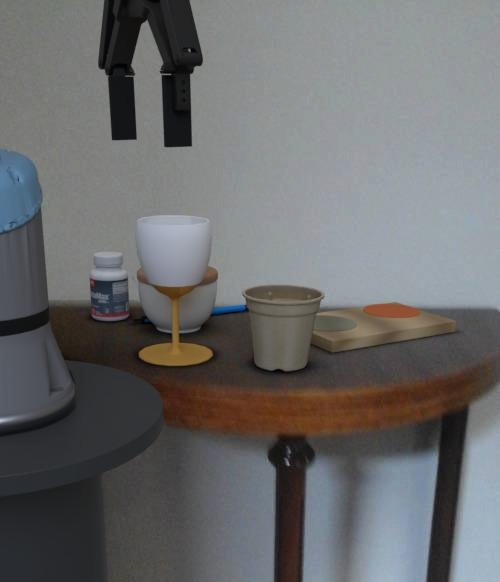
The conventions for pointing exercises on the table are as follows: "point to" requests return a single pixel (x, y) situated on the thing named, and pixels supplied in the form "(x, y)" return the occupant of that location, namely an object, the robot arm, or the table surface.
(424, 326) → the board
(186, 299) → the trinket box
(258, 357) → the flower pot
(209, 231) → the cup
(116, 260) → the pill bottle
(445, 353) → the table surface
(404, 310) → the circle
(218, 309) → the pen
